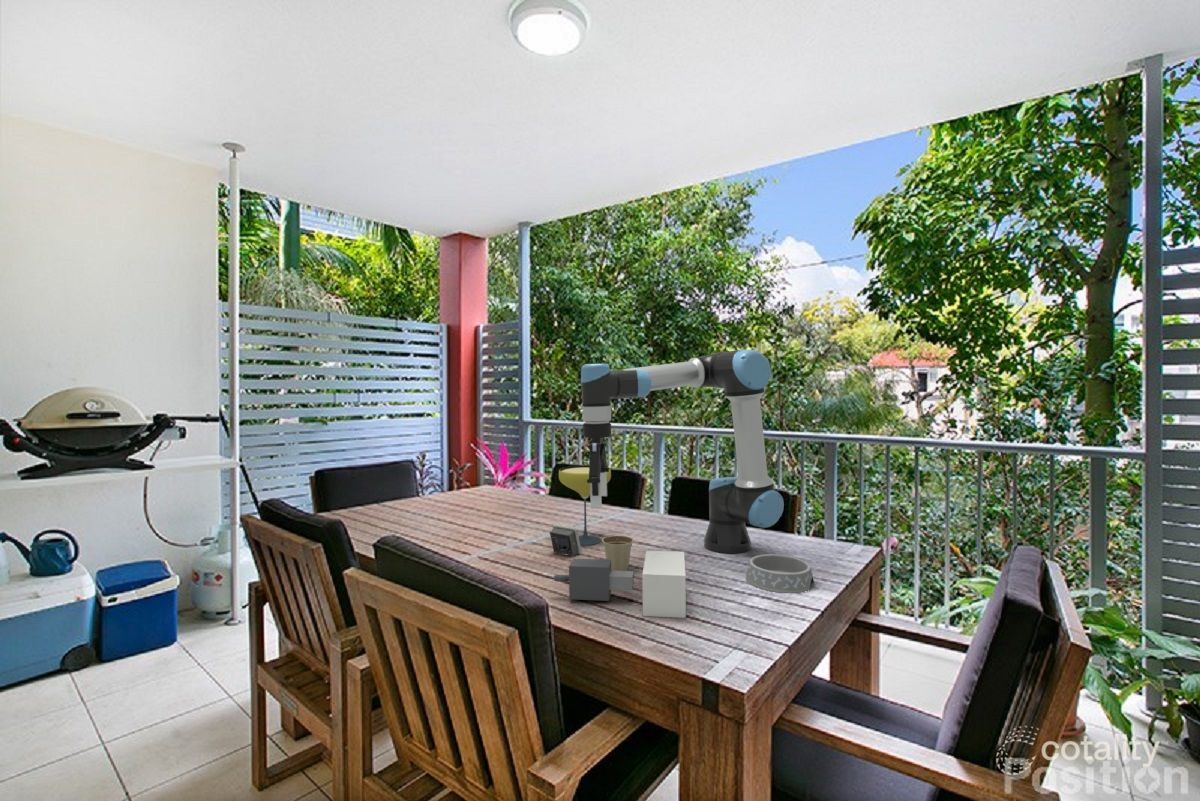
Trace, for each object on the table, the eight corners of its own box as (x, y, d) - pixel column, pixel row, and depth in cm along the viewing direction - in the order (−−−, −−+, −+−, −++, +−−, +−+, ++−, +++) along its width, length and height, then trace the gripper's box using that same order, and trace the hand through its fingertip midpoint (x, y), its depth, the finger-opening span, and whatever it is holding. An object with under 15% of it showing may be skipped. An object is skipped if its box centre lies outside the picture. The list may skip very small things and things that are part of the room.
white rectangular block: (684, 588, 147) (683, 551, 147) (685, 617, 129) (685, 575, 129) (646, 587, 148) (646, 550, 148) (642, 615, 130) (642, 574, 130)
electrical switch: (582, 554, 177) (580, 526, 176) (572, 560, 173) (570, 531, 172) (558, 549, 183) (556, 522, 181) (549, 555, 178) (547, 527, 177)
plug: (633, 592, 143) (633, 560, 142) (632, 601, 137) (631, 568, 136) (556, 589, 145) (555, 557, 145) (551, 598, 139) (550, 565, 139)
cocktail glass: (570, 551, 180) (569, 475, 179) (552, 537, 197) (551, 467, 196) (620, 544, 187) (619, 471, 186) (599, 531, 204) (598, 463, 203)
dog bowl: (817, 576, 156) (817, 557, 156) (807, 599, 140) (807, 578, 140) (756, 567, 164) (756, 549, 164) (740, 587, 148) (740, 568, 148)
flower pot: (638, 565, 166) (638, 537, 165) (626, 576, 157) (626, 546, 157) (610, 561, 170) (609, 533, 169) (596, 571, 161) (596, 542, 161)
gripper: (589, 418, 159) (591, 491, 160) (575, 427, 134) (578, 513, 135) (615, 417, 158) (617, 491, 159) (606, 426, 133) (608, 513, 134)
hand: (599, 501), depth 147 cm, fingers open, 13 cm apart
